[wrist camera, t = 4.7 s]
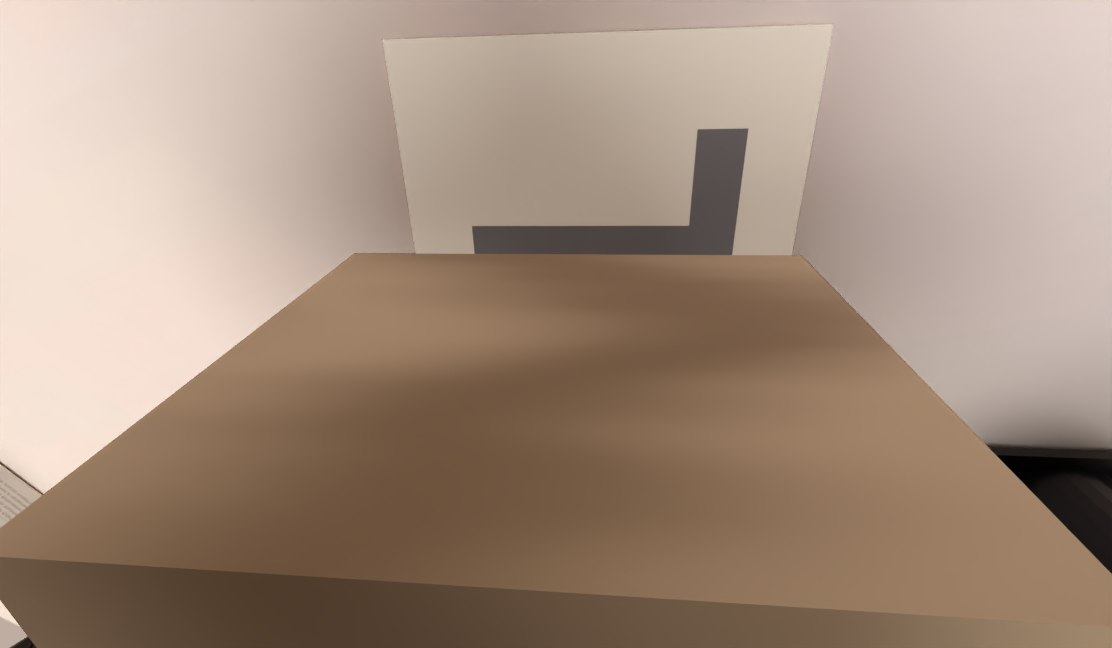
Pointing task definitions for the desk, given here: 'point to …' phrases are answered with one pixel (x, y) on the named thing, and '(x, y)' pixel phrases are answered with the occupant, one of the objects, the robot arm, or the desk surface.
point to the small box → (14, 495)
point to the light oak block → (553, 479)
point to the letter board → (608, 139)
